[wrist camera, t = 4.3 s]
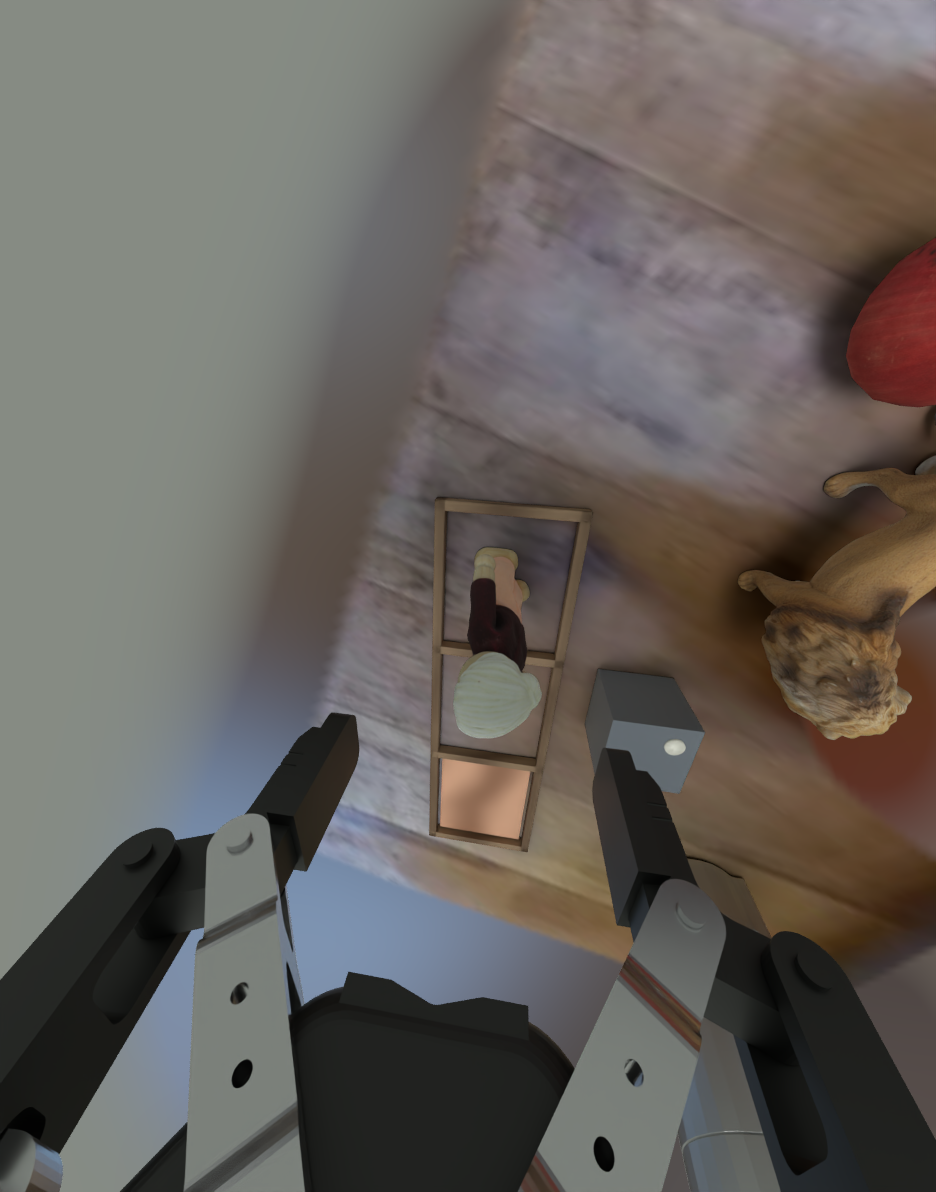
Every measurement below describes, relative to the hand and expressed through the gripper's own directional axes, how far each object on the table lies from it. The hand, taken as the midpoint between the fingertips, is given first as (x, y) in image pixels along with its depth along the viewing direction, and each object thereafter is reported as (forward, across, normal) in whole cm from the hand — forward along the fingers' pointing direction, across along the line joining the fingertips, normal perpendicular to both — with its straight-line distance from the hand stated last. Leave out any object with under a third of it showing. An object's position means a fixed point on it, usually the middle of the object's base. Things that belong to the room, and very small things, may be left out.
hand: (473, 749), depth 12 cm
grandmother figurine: (+14, 0, 0) cm, 14 cm away
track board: (+14, 0, +10) cm, 17 cm away
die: (+14, -10, +8) cm, 19 cm away
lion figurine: (+14, -18, -4) cm, 23 cm away
